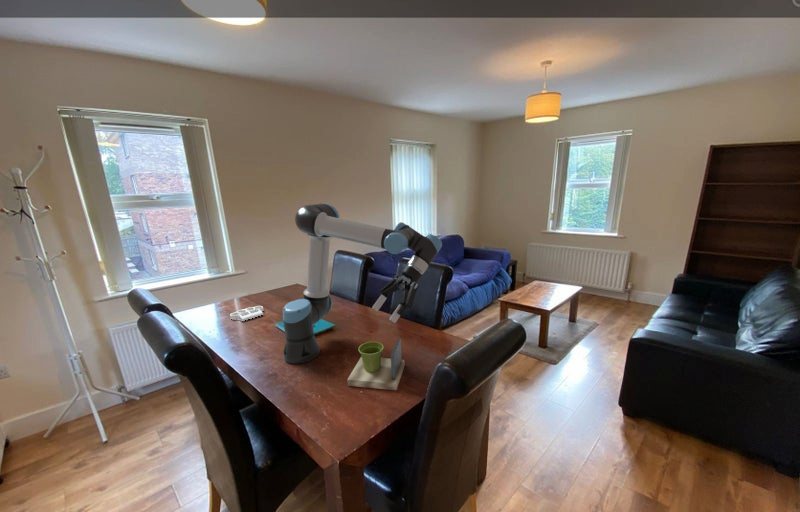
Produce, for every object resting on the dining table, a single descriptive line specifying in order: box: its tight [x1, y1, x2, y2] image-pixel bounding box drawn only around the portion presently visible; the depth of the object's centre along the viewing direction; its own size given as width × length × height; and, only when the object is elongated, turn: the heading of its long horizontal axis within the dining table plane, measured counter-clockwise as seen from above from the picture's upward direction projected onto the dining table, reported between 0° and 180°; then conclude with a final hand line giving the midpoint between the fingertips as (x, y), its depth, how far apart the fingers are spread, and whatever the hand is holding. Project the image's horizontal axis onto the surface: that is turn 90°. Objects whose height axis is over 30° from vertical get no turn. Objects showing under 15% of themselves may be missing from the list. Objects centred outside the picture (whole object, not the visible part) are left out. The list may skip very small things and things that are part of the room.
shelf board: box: [347, 355, 406, 391], centre depth 118 cm, size 18×16×2 cm
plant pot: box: [358, 341, 385, 372], centre depth 117 cm, size 9×9×9 cm
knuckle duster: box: [229, 305, 264, 322], centre depth 180 cm, size 3×18×15 cm
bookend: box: [390, 338, 402, 380], centre depth 115 cm, size 1×12×10 cm, turn 169°
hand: (382, 315), depth 116 cm, fingers open, 13 cm apart
